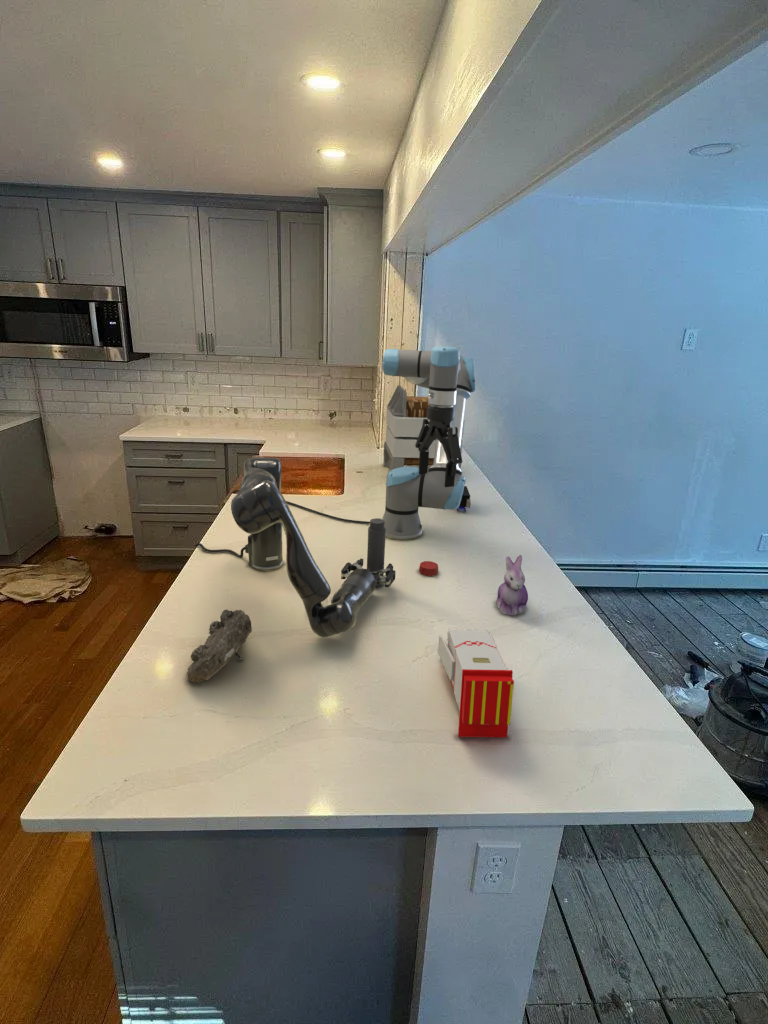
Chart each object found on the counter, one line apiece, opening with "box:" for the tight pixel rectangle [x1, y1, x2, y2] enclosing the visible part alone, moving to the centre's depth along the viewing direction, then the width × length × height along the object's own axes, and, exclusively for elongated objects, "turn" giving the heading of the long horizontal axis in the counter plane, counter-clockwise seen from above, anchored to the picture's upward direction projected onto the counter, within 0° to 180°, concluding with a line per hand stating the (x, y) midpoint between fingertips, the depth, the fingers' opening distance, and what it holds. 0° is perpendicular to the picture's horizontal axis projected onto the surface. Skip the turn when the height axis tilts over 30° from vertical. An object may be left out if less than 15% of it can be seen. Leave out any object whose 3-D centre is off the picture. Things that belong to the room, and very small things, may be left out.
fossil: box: [186, 609, 253, 683], centre depth 125 cm, size 22×10×15 cm
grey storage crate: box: [383, 384, 465, 472], centre depth 268 cm, size 34×33×41 cm
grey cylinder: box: [366, 517, 386, 589], centre depth 159 cm, size 5×5×20 cm
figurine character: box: [456, 485, 472, 513], centre depth 228 cm, size 7×8×15 cm
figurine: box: [496, 554, 529, 616], centre depth 150 cm, size 9×10×15 cm
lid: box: [418, 560, 439, 577], centre depth 171 cm, size 6×6×2 cm
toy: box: [437, 628, 515, 738], centre depth 117 cm, size 12×13×30 cm
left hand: (376, 564), depth 161 cm, fingers open, 8 cm apart
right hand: (435, 479), depth 162 cm, fingers open, 13 cm apart
